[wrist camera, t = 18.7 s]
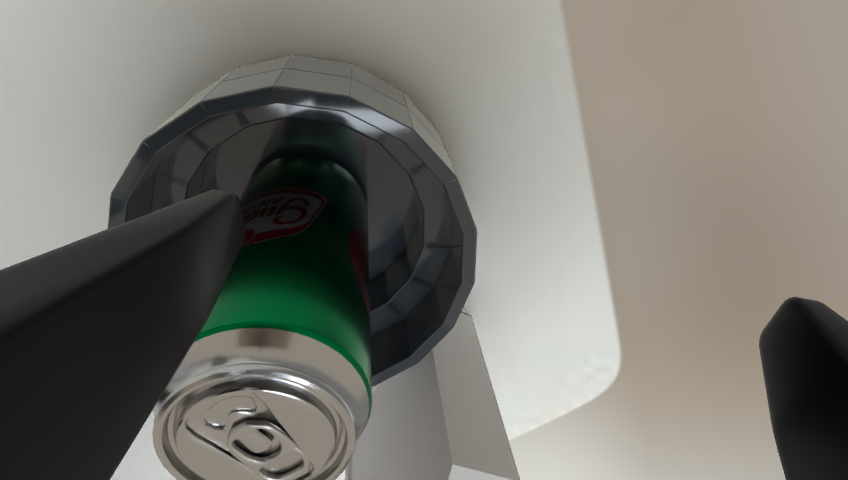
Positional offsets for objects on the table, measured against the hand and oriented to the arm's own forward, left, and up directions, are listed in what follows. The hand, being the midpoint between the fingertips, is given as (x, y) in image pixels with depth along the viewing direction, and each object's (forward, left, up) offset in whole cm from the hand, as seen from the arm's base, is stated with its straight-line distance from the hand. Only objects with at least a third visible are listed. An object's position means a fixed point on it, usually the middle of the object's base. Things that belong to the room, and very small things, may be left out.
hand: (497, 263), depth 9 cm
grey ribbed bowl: (-3, -6, -13) cm, 15 cm away
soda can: (-3, -6, -13) cm, 15 cm away
